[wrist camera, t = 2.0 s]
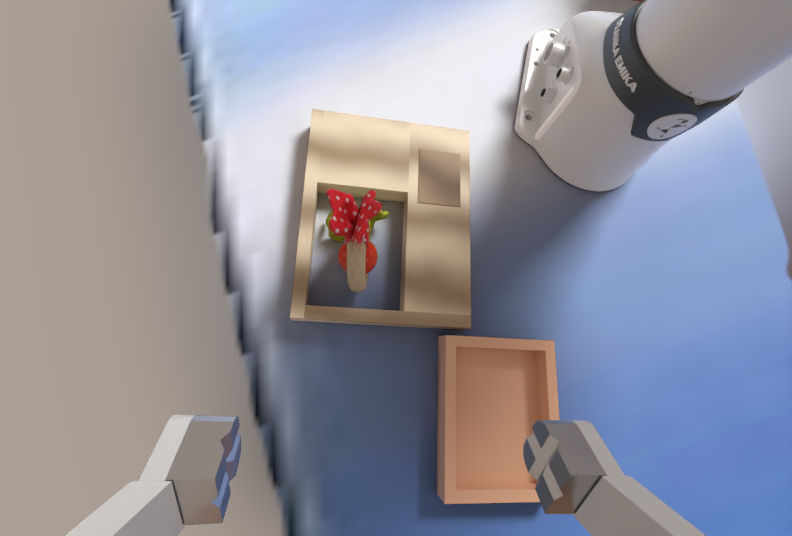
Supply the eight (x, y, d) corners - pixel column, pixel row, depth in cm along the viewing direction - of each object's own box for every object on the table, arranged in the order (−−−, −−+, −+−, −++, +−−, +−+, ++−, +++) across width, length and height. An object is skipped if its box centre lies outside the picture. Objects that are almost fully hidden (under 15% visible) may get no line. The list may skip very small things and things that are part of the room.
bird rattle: (387, 277, 40) (386, 190, 38) (410, 305, 29) (409, 187, 28) (328, 280, 39) (324, 191, 37) (329, 310, 28) (323, 187, 26)
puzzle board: (313, 123, 40) (312, 108, 38) (461, 143, 43) (469, 130, 40) (292, 320, 35) (289, 317, 33) (462, 329, 38) (471, 327, 35)
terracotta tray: (438, 336, 37) (445, 335, 35) (540, 341, 39) (554, 340, 36) (436, 493, 34) (444, 503, 31) (548, 491, 35) (564, 501, 33)
